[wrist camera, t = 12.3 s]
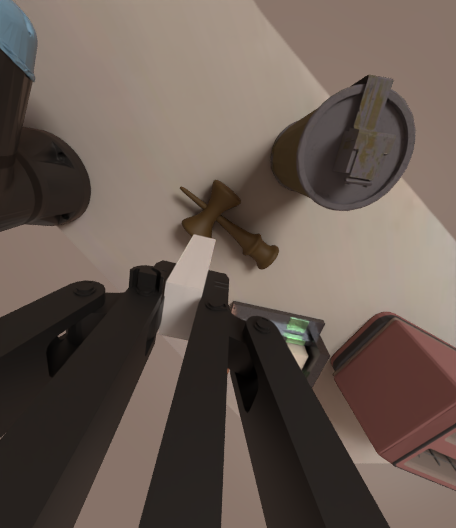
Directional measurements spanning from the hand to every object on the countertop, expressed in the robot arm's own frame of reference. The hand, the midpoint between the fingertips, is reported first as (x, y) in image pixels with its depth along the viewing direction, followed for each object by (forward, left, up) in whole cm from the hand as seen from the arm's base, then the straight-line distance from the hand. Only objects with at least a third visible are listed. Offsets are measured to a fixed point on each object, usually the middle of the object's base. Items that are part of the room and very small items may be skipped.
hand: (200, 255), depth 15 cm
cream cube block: (+22, -28, -25) cm, 44 cm away
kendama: (+2, -4, -27) cm, 27 cm away
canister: (+11, +10, -27) cm, 30 cm away
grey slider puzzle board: (+17, -28, -26) cm, 42 cm away
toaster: (+51, -27, -27) cm, 64 cm away
